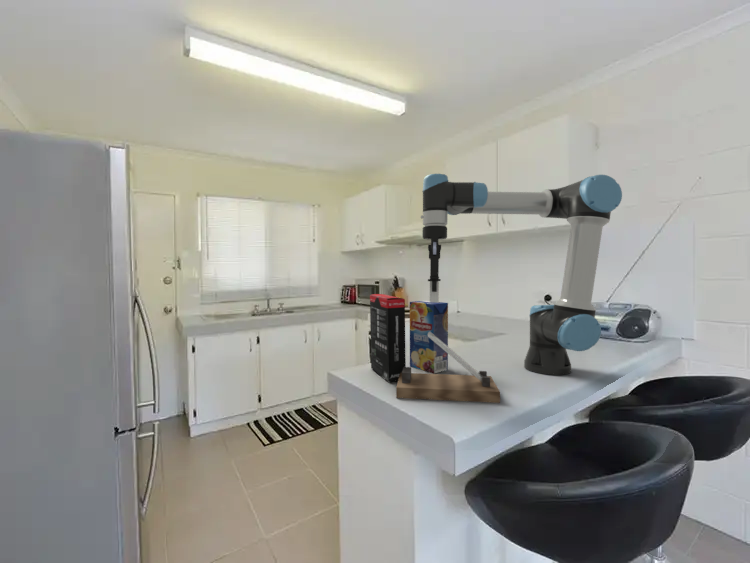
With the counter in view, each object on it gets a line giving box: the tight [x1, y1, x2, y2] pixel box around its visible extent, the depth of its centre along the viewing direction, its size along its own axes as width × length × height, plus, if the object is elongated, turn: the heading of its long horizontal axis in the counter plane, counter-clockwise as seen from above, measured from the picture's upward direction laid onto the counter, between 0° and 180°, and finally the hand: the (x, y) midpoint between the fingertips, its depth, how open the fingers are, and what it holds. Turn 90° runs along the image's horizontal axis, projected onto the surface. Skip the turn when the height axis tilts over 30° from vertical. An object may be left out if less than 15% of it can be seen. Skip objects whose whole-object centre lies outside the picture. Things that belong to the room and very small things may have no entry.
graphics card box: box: [369, 293, 407, 383], centre depth 120 cm, size 17×7×27 cm, turn 21°
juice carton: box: [409, 300, 449, 374], centre depth 128 cm, size 12×8×24 cm, turn 38°
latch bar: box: [428, 331, 483, 382], centre depth 103 cm, size 21×4×1 cm
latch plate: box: [395, 366, 501, 404], centre depth 104 cm, size 28×14×6 cm, turn 82°
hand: (434, 302), depth 110 cm, fingers closed
